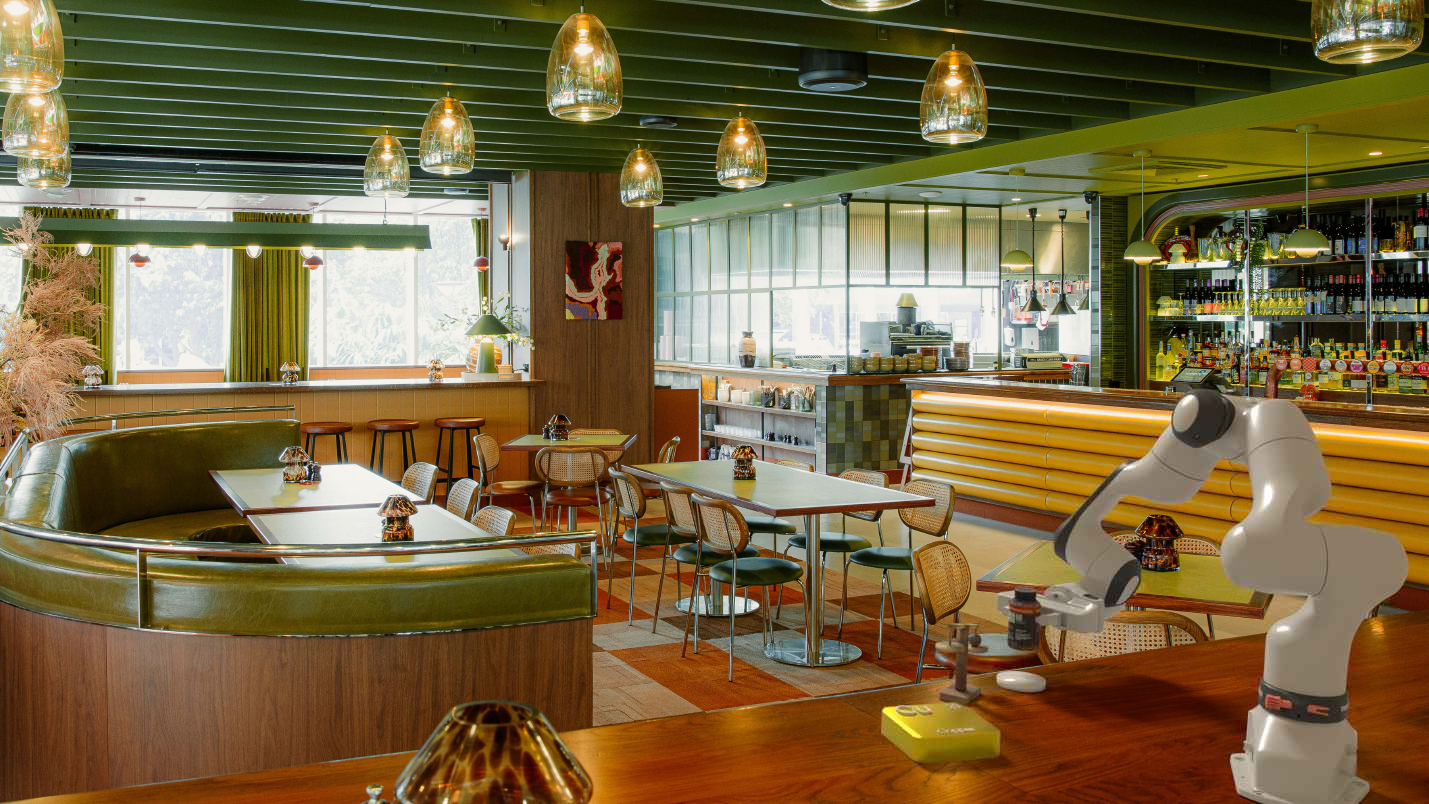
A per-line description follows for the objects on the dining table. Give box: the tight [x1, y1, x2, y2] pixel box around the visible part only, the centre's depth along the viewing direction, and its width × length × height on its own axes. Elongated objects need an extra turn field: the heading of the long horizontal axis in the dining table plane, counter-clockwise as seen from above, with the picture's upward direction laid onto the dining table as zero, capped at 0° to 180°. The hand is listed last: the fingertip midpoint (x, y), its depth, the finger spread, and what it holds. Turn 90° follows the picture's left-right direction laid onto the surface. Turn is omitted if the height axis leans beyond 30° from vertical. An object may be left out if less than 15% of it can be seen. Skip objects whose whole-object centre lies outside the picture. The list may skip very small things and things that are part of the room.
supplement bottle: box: [1006, 586, 1041, 652], centre depth 207 cm, size 6×6×11 cm
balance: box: [934, 623, 989, 706], centre depth 199 cm, size 19×5×15 cm, turn 148°
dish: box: [996, 670, 1047, 693], centre depth 207 cm, size 9×9×1 cm
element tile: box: [880, 702, 1001, 764], centre depth 176 cm, size 15×15×5 cm
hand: (1021, 616), depth 206 cm, fingers closed on supplement bottle, 6 cm apart
